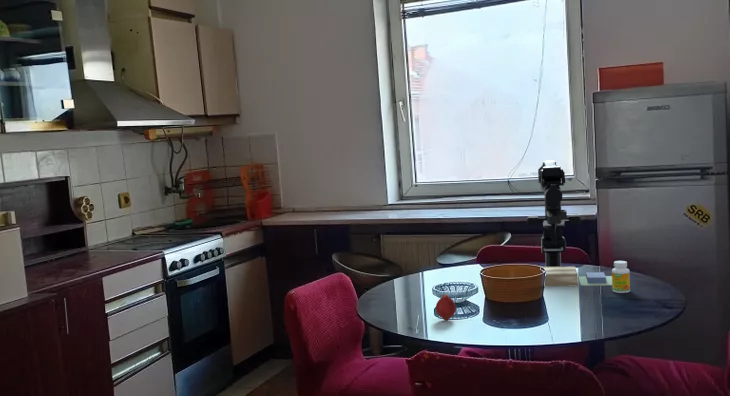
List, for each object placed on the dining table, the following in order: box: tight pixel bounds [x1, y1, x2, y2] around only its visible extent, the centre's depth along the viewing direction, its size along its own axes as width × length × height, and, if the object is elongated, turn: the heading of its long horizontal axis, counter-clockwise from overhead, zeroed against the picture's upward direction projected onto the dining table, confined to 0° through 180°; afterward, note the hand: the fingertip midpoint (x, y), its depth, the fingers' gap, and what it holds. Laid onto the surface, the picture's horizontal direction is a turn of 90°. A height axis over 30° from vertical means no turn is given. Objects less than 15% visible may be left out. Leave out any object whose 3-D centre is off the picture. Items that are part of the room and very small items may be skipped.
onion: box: [435, 293, 457, 321], centre depth 206 cm, size 6×6×8 cm
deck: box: [541, 266, 579, 287], centre depth 245 cm, size 13×12×4 cm
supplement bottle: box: [611, 260, 631, 294], centre depth 226 cm, size 5×5×10 cm
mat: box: [578, 275, 612, 287], centre depth 242 cm, size 13×12×1 cm
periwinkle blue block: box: [585, 271, 607, 283], centre depth 242 cm, size 8×6×2 cm
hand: (554, 243), depth 253 cm, fingers closed
